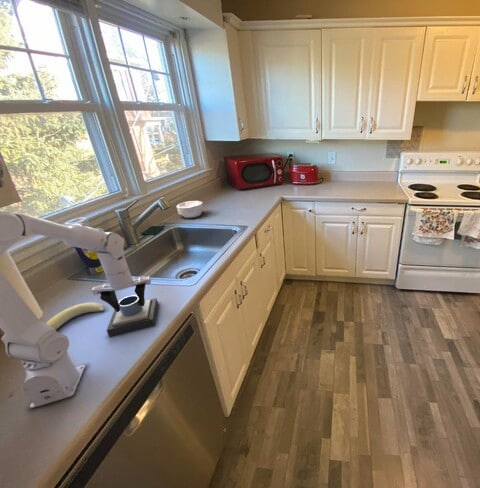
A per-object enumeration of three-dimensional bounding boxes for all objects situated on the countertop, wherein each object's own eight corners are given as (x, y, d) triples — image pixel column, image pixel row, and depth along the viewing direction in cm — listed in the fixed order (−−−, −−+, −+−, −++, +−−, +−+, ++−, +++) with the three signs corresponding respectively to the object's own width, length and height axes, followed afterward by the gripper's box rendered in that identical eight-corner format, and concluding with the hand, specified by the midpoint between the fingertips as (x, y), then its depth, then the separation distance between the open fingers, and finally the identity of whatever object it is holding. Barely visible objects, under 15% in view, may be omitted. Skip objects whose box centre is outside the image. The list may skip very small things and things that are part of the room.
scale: (154, 325, 87) (152, 319, 86) (109, 337, 83) (106, 330, 82) (158, 303, 97) (156, 297, 96) (117, 312, 93) (115, 306, 92)
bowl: (141, 313, 87) (137, 303, 86) (120, 318, 85) (115, 308, 84) (143, 303, 92) (140, 293, 90) (124, 308, 90) (119, 297, 88)
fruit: (40, 328, 87) (35, 320, 85) (97, 303, 98) (93, 295, 96) (47, 338, 83) (42, 329, 81) (105, 310, 94) (102, 302, 93)
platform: (148, 319, 87) (146, 315, 87) (114, 327, 84) (112, 323, 83) (151, 302, 95) (150, 299, 94) (120, 309, 91) (119, 306, 91)
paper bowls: (180, 213, 183) (178, 201, 179) (205, 210, 187) (203, 199, 183) (177, 221, 170) (174, 208, 166) (204, 218, 174) (201, 206, 170)
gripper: (146, 259, 88) (158, 294, 94) (90, 268, 83) (106, 305, 89) (143, 269, 82) (156, 306, 88) (83, 280, 77) (100, 319, 83)
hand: (131, 307), depth 88 cm, fingers open, 6 cm apart
